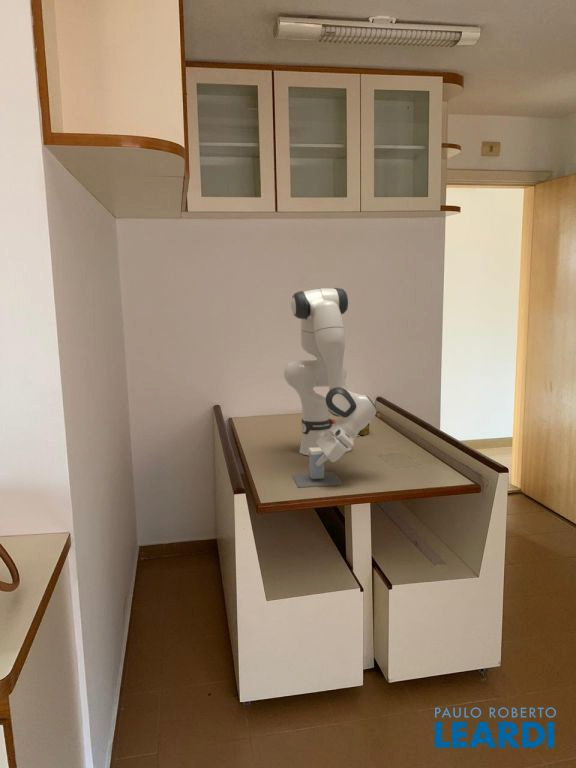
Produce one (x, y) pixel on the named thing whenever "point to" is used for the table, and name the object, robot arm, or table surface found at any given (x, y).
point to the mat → (317, 480)
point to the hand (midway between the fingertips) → (314, 462)
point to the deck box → (315, 470)
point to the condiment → (364, 430)
